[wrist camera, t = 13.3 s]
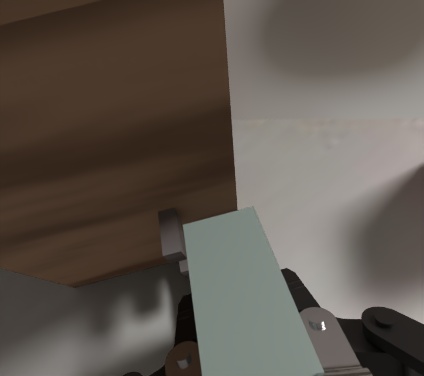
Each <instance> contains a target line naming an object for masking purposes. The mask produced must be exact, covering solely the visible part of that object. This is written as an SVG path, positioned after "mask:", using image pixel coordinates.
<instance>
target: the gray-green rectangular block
mask: <svg viewBox="0 0 424 376" xmlns="http://www.w3.org/2000/svg"><path fill="white" fill-rule="evenodd" d="M183 230H184V237H185V245H186V253H187V261H188V269H189V277H190V284H191V292H192V300H193V308H194V316H195V323H196V331H197V339H198V347H199V355H200V362H201V370H202V376H316V373H322V372H324V370H323V368H322V366H321V363H320V361H319V359H318V356H317V354H316V352H315V349H314V347H313V345H312V342H311V340H310V338H309V335H308V333H307V331H306V328H305V326H304V324H303V321H302V319H301V317H300V314H299V312H298V310H297V307H296V305H295V303H294V300H293V298H292V296H291V293H290V291H289V289H288V286H287V284H286V282H285V279H284V277H283V275H282V272H281V270H280V268H279V265H278V263H277V260H276V258H275V256H274V253H273V251H272V249H271V246H270V244H269V242H268V239H267V237H266V235H265V232H264V230H263V228H262V225H261V223H260V221H259V218H258V216H257V214H256V211H255V209H254V207H253V206H252V207H249V208H245V209H241V210H237V211H234V212H230V213H226V214H222V215H218V216H215V217H211V218H207V219H203V220H200V221H196V222H192V223H188V224H184V225H183Z"/></svg>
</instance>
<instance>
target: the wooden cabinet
mask: <svg viewBox="0 0 424 376" xmlns="http://www.w3.org/2000/svg"><path fill="white" fill-rule="evenodd" d="M227 63H228V62H227V48H226V33H225V18H224V4H223V0H0V268H2V269H6V270H10V271H13V272H17V273H21V274H25V275H29V276H33V277H36V278H40V279H44V280H48V281H52V282H56V283H60V284H63V285H67V286H71V287H79V286H83V285H86V284H90V283H94V282H98V281H101V280H105V279H109V278H113V277H116V276H120V275H124V274H128V273H131V272H135V271H139V270H143V269H147V268H150V267H154V266H158V265H162V264H165V263H169V262H170V263H175V262H179V265H180V272H181V273H182V274H183V275H184V276H185V277H188V276H189V269H188V261H187V253H186V245H185V237H184V230H183V225H184V224H188V223H192V222H196V221H200V220H203V219H207V218H211V217H215V216H218V215H222V214H226V213H230V212H234V211H237V196H236V181H235V167H234V152H233V137H232V122H231V107H230V92H229V77H228V64H227Z"/></svg>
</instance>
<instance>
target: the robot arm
mask: <svg viewBox="0 0 424 376" xmlns="http://www.w3.org/2000/svg"><path fill="white" fill-rule="evenodd" d="M281 272H282V275H283V277H284V279H285V282H286V284H287V286H288V289H289V291H290V293H291V296H292V298H293V300H294V303H295V305H296V307H297V310H298V312H299V314H300V317H301V319H302V321H303V324H304V326H305V328H306V331H307V333H308V335H309V338H310V340H311V342H312V345H313V347H314V349H315V352H316V354H317V356H318V359H319V361H320V363H321V366H322V368H323V370H324V372H322V373H316V376H424V324H422V323H420V322H417V321H415V320H413V319H411V318H409V317H407V316H405V315H403V314H401V313H399V312H397V311H394V310H392V309H389V308H385V307H371V308H368V309H366V310H365V311H364V312H363V313H362V317H361V318H362V319H341V318H337V317H335V316H334V315H333V314H332V313H331V312H329V311H328V310H326V309H323V308H321V307H320V306H319V304H318V303H317V302H316V300H315V299H314V298H313V296H312V295H311V293H310V292H309V291H308V289H307V288H306V287H305V286H304V284H303V283H302V281H300V279H299V277H298V276H297V275H296V273H295V272H293V271H291V270H289V269H288V268H285V269H282V270H281ZM123 376H142V375H141V374H140V373H138V372H130V373H127V374H125V375H123ZM150 376H202V370H201V362H200V355H199V347H198V339H197V331H196V323H195V316H194V308H193V300H192V292H191V294H188V295H185V296H183V297H182V299H181V301H180V302H179V304H178V314H177V324H176V334H175V344H174V348H173V349H172V350H171V351H170V352H169V354H168V356H167V358H166V361H165V365H164V366H163V367H162V368H161V369H159V370H158V371H156V372H155V373H153V374H151V375H150Z"/></svg>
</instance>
